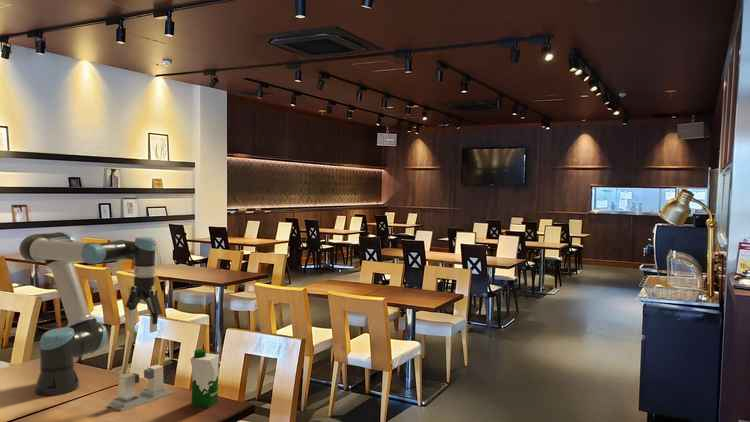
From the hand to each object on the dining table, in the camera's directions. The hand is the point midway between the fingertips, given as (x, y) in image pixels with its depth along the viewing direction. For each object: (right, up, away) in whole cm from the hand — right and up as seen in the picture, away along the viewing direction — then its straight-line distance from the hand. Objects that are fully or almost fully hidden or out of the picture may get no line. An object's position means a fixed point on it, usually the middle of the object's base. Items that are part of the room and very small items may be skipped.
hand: (142, 328), depth 222 cm
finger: (+7, -24, -5) cm, 25 cm away
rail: (+4, -25, -11) cm, 27 cm away
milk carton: (+29, -26, -14) cm, 41 cm away
